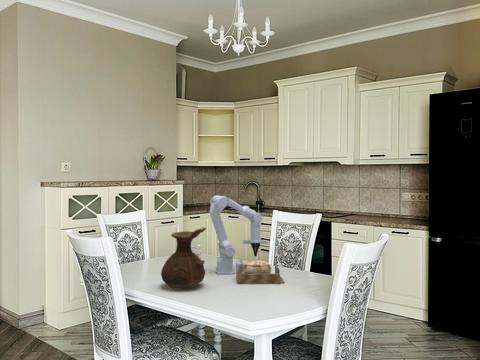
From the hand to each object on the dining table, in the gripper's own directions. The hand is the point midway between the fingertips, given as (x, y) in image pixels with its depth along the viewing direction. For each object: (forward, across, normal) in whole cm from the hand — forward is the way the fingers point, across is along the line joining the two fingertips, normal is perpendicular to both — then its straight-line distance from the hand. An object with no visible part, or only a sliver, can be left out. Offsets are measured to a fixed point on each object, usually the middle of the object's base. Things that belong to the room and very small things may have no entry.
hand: (255, 255), depth 264 cm
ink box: (+8, -37, +17) cm, 42 cm away
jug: (+8, -39, -38) cm, 55 cm away
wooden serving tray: (+8, -1, -27) cm, 29 cm away
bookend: (+8, +11, -27) cm, 30 cm away
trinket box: (+8, 0, -13) cm, 15 cm away
